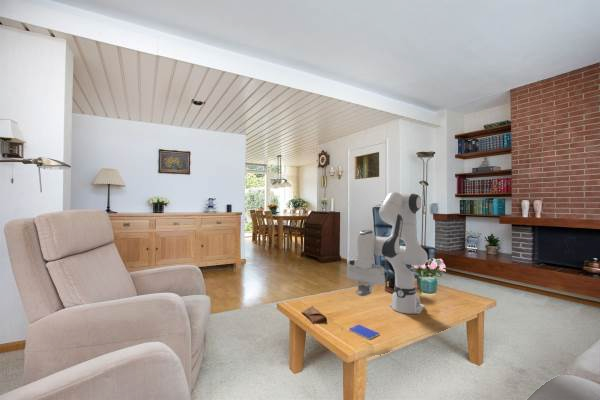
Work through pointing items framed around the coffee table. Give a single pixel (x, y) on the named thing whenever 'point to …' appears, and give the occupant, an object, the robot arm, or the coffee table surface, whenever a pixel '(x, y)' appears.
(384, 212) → the robot arm
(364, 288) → the plug
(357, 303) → the coffee table surface
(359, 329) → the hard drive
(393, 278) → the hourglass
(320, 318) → the sunglasses case
